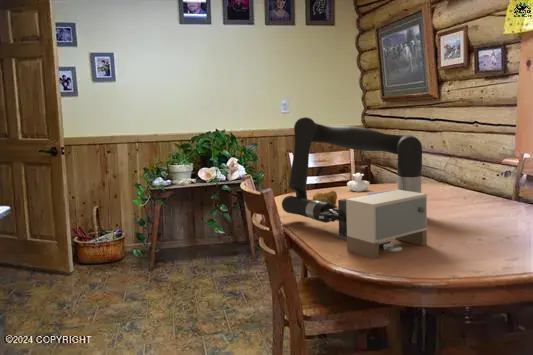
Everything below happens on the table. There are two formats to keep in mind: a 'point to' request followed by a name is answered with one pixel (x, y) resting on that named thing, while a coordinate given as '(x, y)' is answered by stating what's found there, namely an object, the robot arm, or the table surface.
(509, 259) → the table surface
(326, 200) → the bread roll
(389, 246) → the steel token
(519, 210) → the table surface
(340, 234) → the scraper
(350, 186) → the white animal figurine
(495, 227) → the table surface
